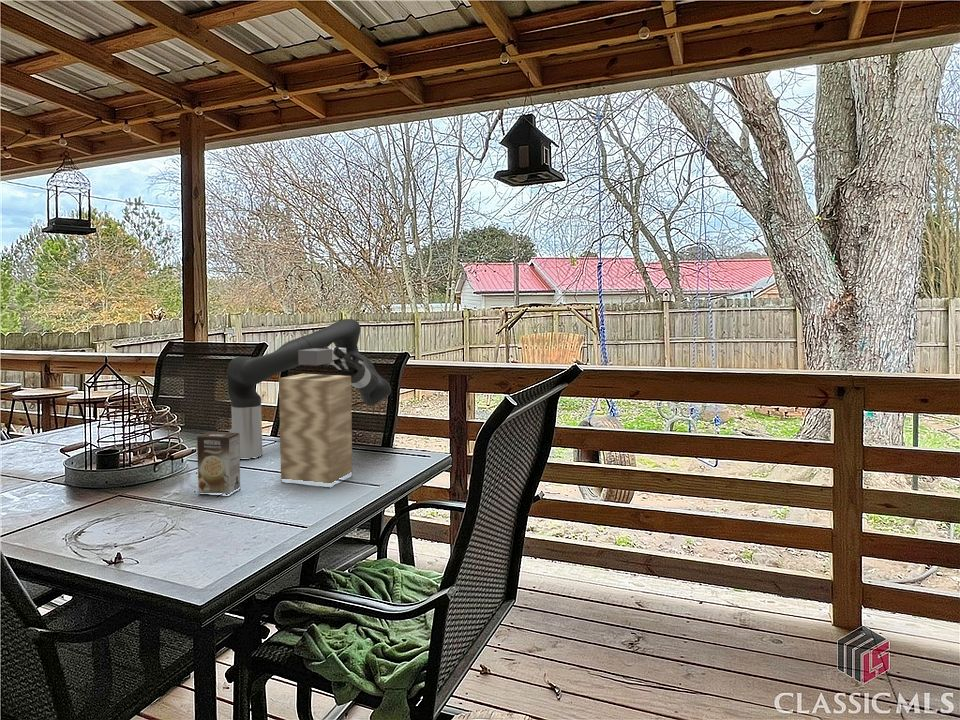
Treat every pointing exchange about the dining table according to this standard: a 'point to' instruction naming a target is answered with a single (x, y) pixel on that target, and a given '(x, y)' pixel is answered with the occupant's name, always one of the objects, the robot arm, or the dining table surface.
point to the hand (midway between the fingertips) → (329, 349)
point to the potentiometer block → (317, 356)
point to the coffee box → (218, 462)
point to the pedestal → (315, 427)
